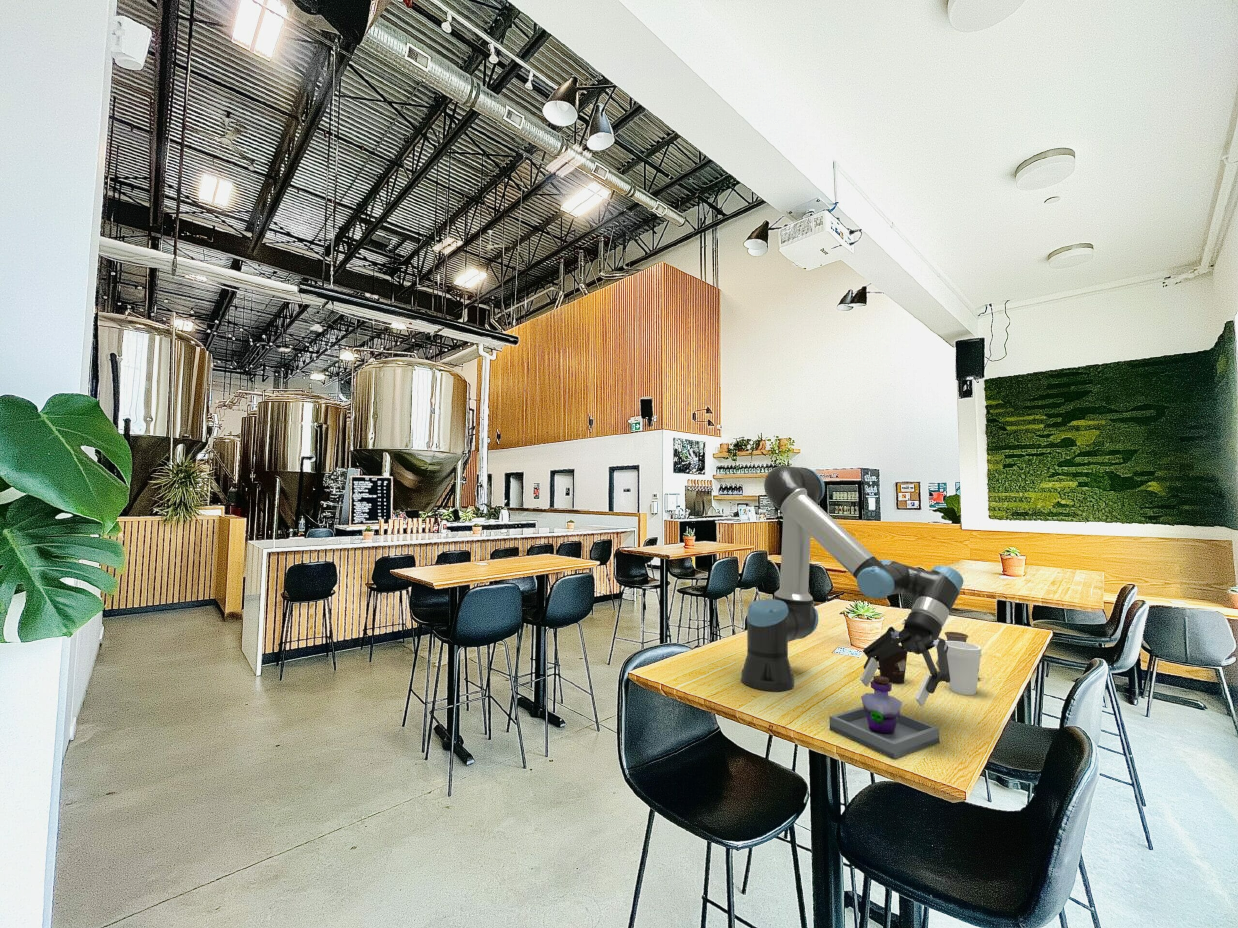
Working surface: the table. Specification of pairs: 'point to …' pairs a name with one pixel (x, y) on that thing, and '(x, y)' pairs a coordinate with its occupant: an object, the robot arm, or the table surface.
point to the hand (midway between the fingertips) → (889, 692)
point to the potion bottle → (881, 706)
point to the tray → (894, 745)
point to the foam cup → (963, 666)
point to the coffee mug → (894, 667)
